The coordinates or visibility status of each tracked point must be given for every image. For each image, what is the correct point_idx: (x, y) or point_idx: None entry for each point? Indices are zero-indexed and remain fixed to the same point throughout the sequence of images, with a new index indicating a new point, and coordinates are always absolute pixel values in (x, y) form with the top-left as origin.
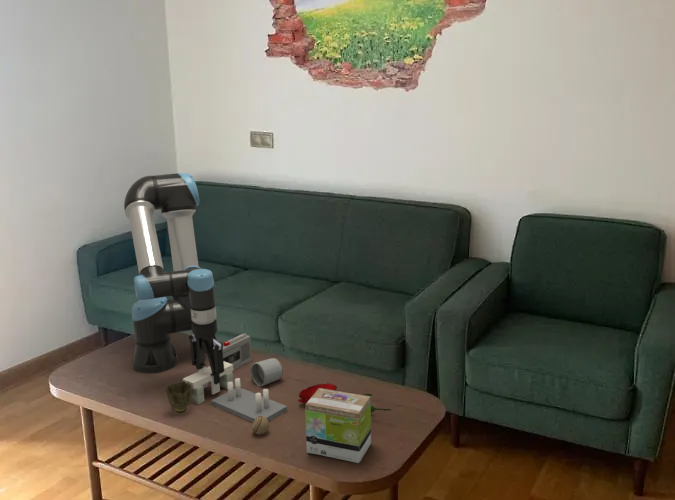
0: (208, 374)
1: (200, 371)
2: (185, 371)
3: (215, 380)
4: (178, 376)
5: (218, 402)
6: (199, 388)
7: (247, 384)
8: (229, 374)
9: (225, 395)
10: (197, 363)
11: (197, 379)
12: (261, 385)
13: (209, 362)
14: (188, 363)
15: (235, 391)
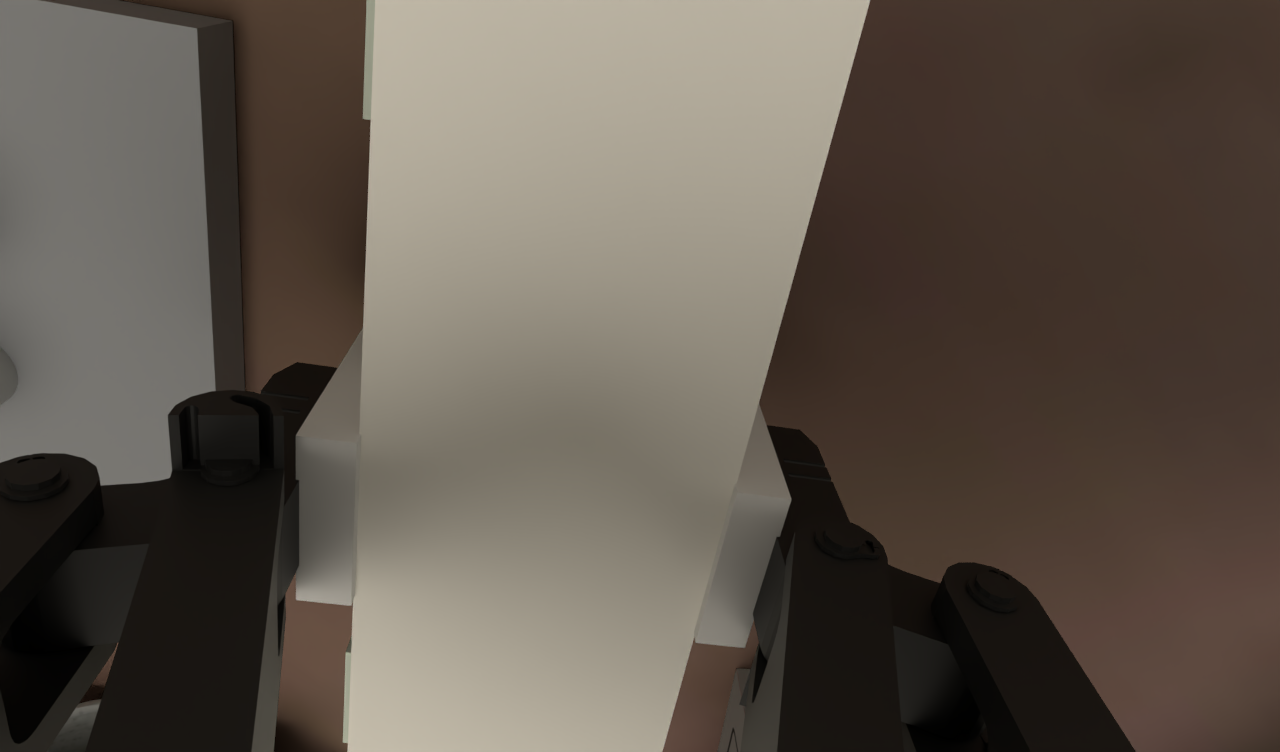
0: (424, 443)
1: (701, 473)
2: (1224, 606)
3: (283, 402)
4: (1256, 484)
5: (16, 23)
6: (371, 2)
7: (303, 672)
8: (347, 683)
9: (147, 285)
10: (838, 613)
11: (457, 110)
12: (81, 706)
13: (240, 701)
14: (1276, 741)
15: (136, 446)
